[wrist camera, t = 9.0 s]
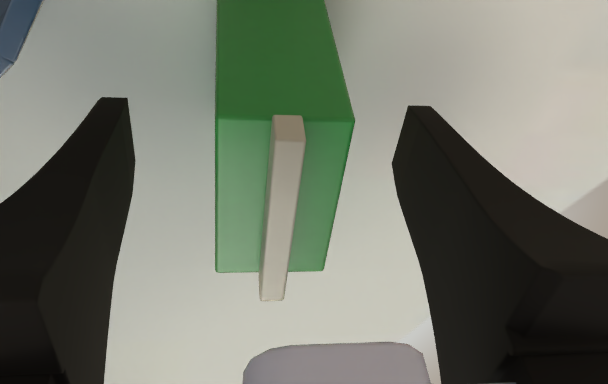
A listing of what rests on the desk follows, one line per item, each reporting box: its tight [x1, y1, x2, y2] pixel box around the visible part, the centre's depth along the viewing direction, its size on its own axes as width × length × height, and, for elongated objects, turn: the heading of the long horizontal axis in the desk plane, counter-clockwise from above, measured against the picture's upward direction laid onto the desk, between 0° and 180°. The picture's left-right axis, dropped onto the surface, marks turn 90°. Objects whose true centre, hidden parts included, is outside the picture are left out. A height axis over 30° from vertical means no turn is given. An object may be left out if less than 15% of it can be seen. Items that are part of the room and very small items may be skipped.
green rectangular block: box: [215, 0, 355, 301], centre depth 15 cm, size 3×5×7 cm, turn 174°
